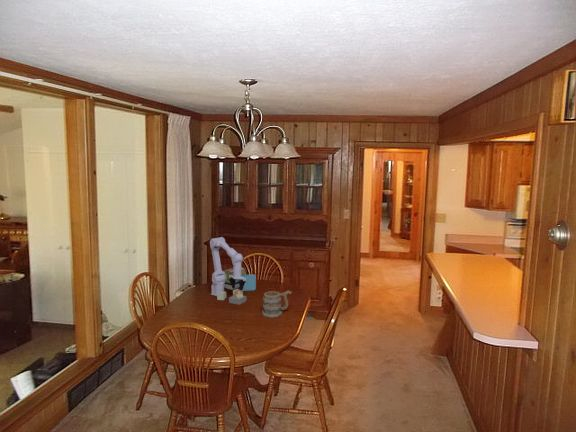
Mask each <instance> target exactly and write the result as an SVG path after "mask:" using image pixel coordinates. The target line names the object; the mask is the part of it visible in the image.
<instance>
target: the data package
mask: <svg viewBox="0 0 576 432" xmlns="http://www.w3.org/2000/svg"><path fill="white" fill-rule="evenodd" d="M241 276H242V277H244V278H246V282H245V284H244V287H243V292H248V291H256V290H257V277H256V275H255V274H254V273H253V274H252V273H251V274H249V273H248V274H245V275H241ZM240 281H241V280H240Z"/></svg>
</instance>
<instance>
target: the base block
mask: <svg viewBox="0 0 576 432" xmlns="http://www.w3.org/2000/svg"><path fill="white" fill-rule="evenodd" d="M246 302H247V295H243V297H241V298H234V297H233V295H232V296H230V297H228V303H229V304H234V305H242V304H244V303H246Z"/></svg>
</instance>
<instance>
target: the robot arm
mask: <svg viewBox="0 0 576 432" xmlns="http://www.w3.org/2000/svg"><path fill="white" fill-rule="evenodd" d="M209 246H210V250H211V255H212V262H213V268H214V269H213V270H214V271H213V273H212V274H211V276H212V277H211V282H212V284H211V286H210V287H211V293H210V296H211V295H212V296H215V297H217V293H218V292H219V291H224V292H225V288H224V283H225V281H226V275H225V272H224V270H222V264H221V257H220V251H219V250H220V248H222V249H223V250H224V251H225V252H226V254H227V255H228V257H230V259H231V262H232V265H233V266H232V268H233V275H229V278H230V279H229V281H230V283H231V285H232V288H235V281H236V279H238V280H241V281H239V284H240V287H239V289H240V290H243V287H244V284H245V282H246V278H244V277H242V276H241V268H242V262H243V260H244V257H243V254H242V253H238V252H237V251H236V250H235V248H233V247H230V246H229V244H228V243H227V242H226V238H224V237H223V236H221V237H215V238H211V239H210V241H209ZM226 295H227V292H226Z"/></svg>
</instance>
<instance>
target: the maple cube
mask: <svg viewBox="0 0 576 432" xmlns="http://www.w3.org/2000/svg"><path fill="white" fill-rule="evenodd" d="M232 296H233V297H234V298H241V297H243V296H244V291H243V290H240V288H236V289H233V290H232Z"/></svg>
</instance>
